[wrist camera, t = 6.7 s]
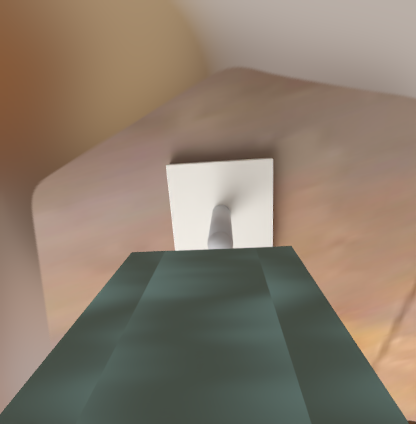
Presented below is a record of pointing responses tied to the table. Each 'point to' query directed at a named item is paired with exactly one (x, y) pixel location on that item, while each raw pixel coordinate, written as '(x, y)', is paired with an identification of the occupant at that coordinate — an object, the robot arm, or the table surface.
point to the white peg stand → (221, 204)
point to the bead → (206, 349)
